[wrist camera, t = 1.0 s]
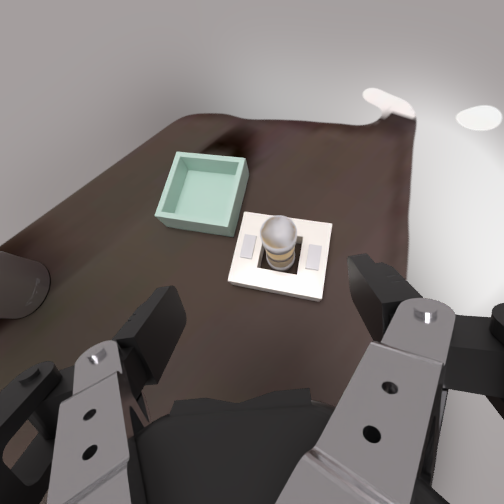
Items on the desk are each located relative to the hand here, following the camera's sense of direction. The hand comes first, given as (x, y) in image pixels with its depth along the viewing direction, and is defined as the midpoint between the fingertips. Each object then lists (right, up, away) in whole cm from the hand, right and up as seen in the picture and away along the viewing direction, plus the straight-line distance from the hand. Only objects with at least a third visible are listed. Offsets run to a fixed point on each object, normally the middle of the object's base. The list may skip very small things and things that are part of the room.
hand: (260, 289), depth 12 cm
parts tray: (-7, +10, +29) cm, 31 cm away
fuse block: (+4, +1, +24) cm, 25 cm away
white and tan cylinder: (+4, +1, +24) cm, 25 cm away
